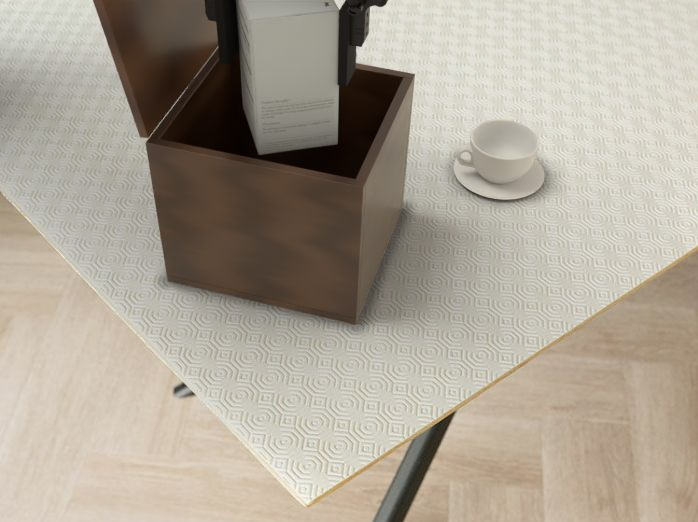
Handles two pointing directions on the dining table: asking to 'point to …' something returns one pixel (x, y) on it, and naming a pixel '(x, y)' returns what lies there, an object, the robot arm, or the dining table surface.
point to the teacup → (500, 160)
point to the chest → (281, 194)
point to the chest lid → (156, 51)
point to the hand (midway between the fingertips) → (287, 66)
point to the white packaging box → (289, 72)
